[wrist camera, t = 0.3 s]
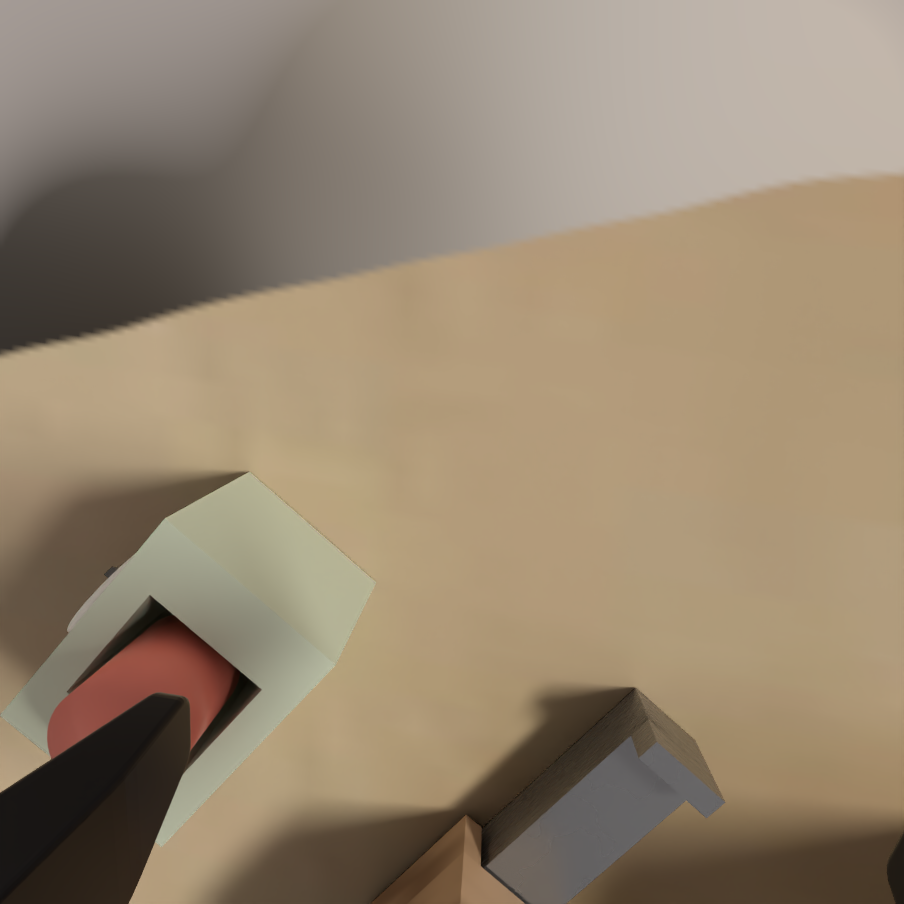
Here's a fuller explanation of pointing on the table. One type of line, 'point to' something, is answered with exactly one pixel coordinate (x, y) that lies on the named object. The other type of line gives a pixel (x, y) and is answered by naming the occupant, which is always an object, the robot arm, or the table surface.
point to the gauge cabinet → (216, 623)
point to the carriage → (449, 874)
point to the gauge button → (147, 683)
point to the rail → (596, 803)
